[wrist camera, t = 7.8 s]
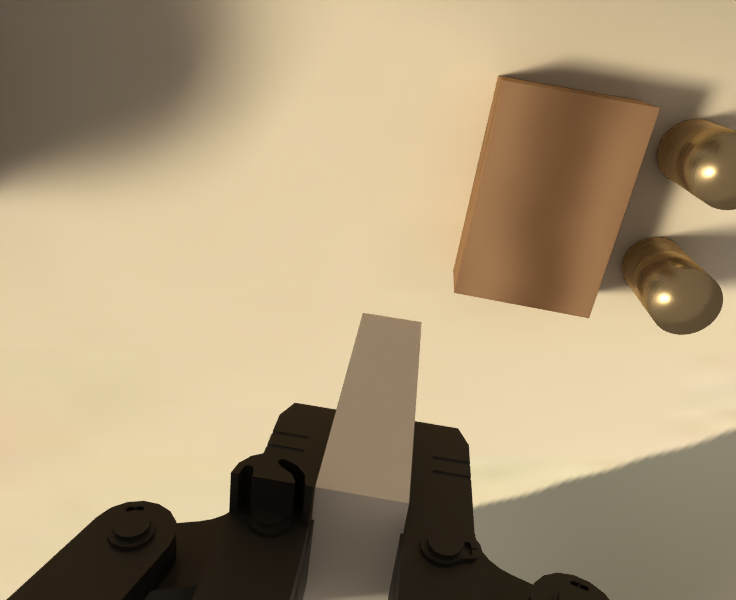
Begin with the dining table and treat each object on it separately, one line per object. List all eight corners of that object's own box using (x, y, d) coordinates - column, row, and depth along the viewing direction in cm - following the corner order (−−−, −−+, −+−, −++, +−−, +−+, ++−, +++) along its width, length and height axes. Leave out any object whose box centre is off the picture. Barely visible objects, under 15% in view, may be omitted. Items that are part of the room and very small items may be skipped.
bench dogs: (614, 286, 39) (641, 328, 34) (668, 114, 35) (709, 130, 30) (672, 296, 39) (709, 339, 34) (733, 123, 35) (787, 141, 29)
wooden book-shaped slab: (453, 268, 40) (454, 292, 37) (497, 75, 36) (503, 80, 32) (575, 291, 40) (589, 318, 37) (637, 99, 35) (660, 108, 32)
